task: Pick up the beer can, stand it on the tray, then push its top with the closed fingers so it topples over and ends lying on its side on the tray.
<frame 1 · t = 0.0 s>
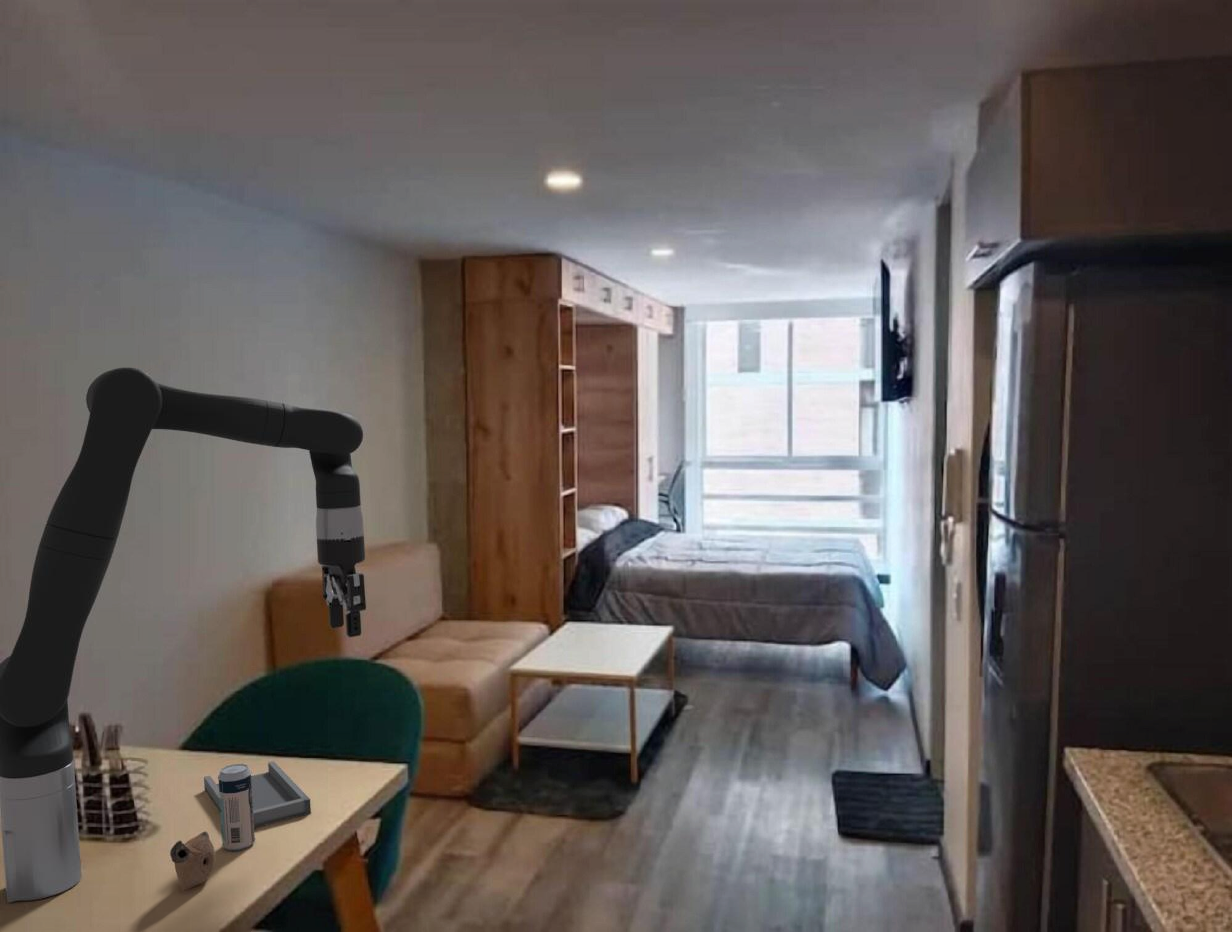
hand: (345, 631, 163), 29 cm above the table, fingers open, 8 cm apart
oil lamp: (193, 889, 137), on the table
tray: (255, 801, 167), on the table
beer can: (239, 846, 150), on the table
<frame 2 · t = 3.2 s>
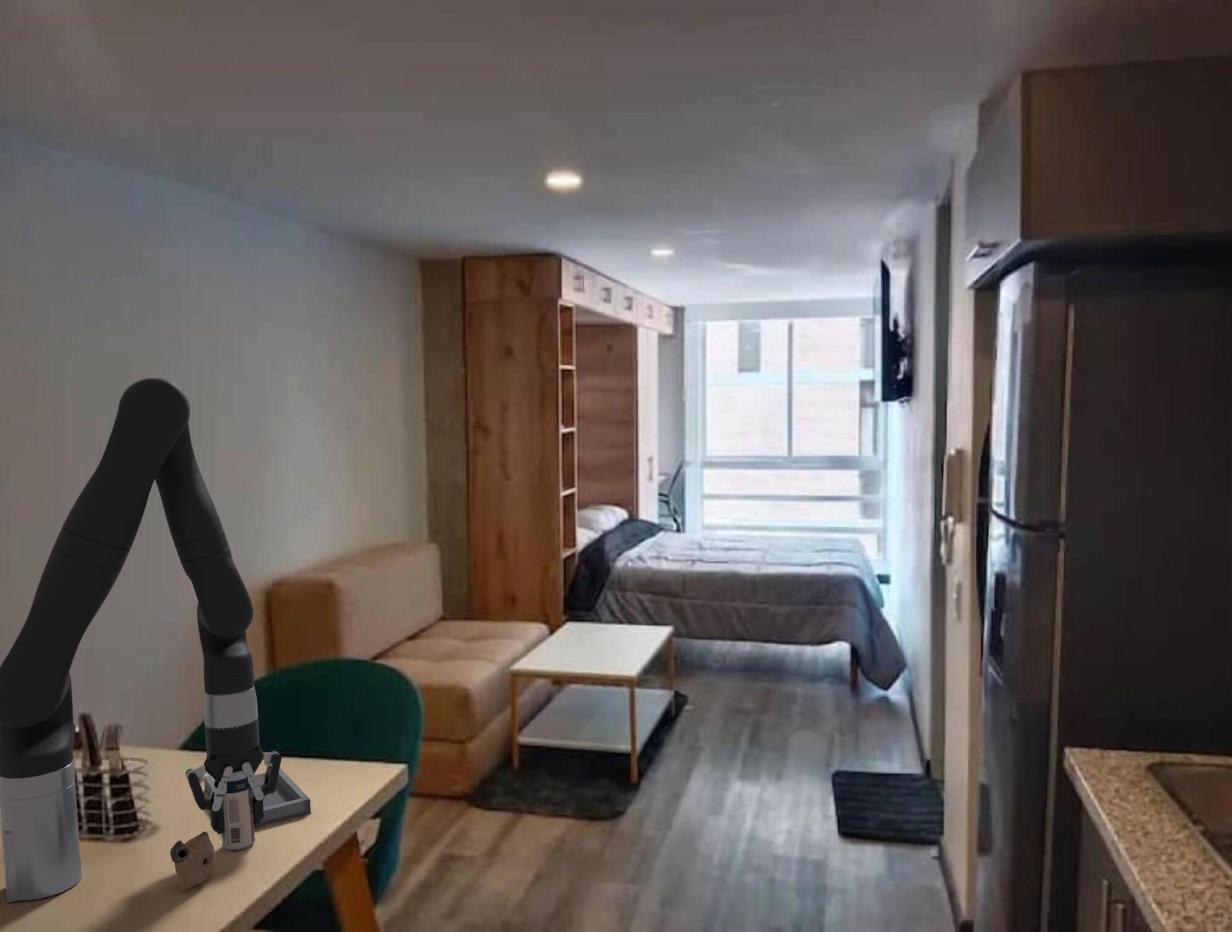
hand: (238, 826, 150), 3 cm above the table, fingers closed on beer can, 4 cm apart
beer can: (239, 846, 150), on the table, touching gripper
everything else where it was.
when the fingers open (5 cm above the table, at t = 8.3 s): beer can drops 1 cm, resting on tray.
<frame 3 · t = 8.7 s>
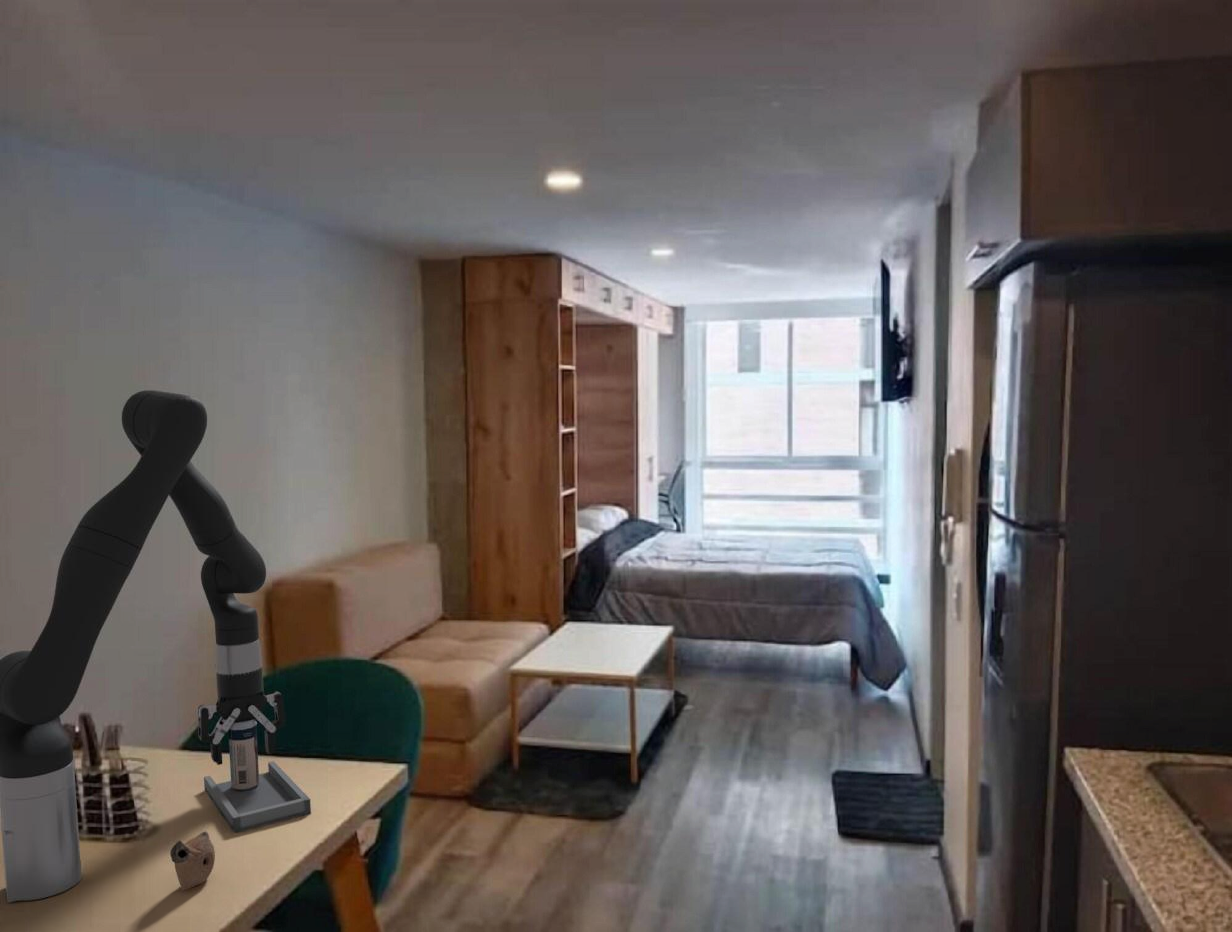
hand: (244, 757, 172), 6 cm above the table, fingers open, 8 cm apart
beer can: (245, 787, 172), resting on tray
everything else where it was.
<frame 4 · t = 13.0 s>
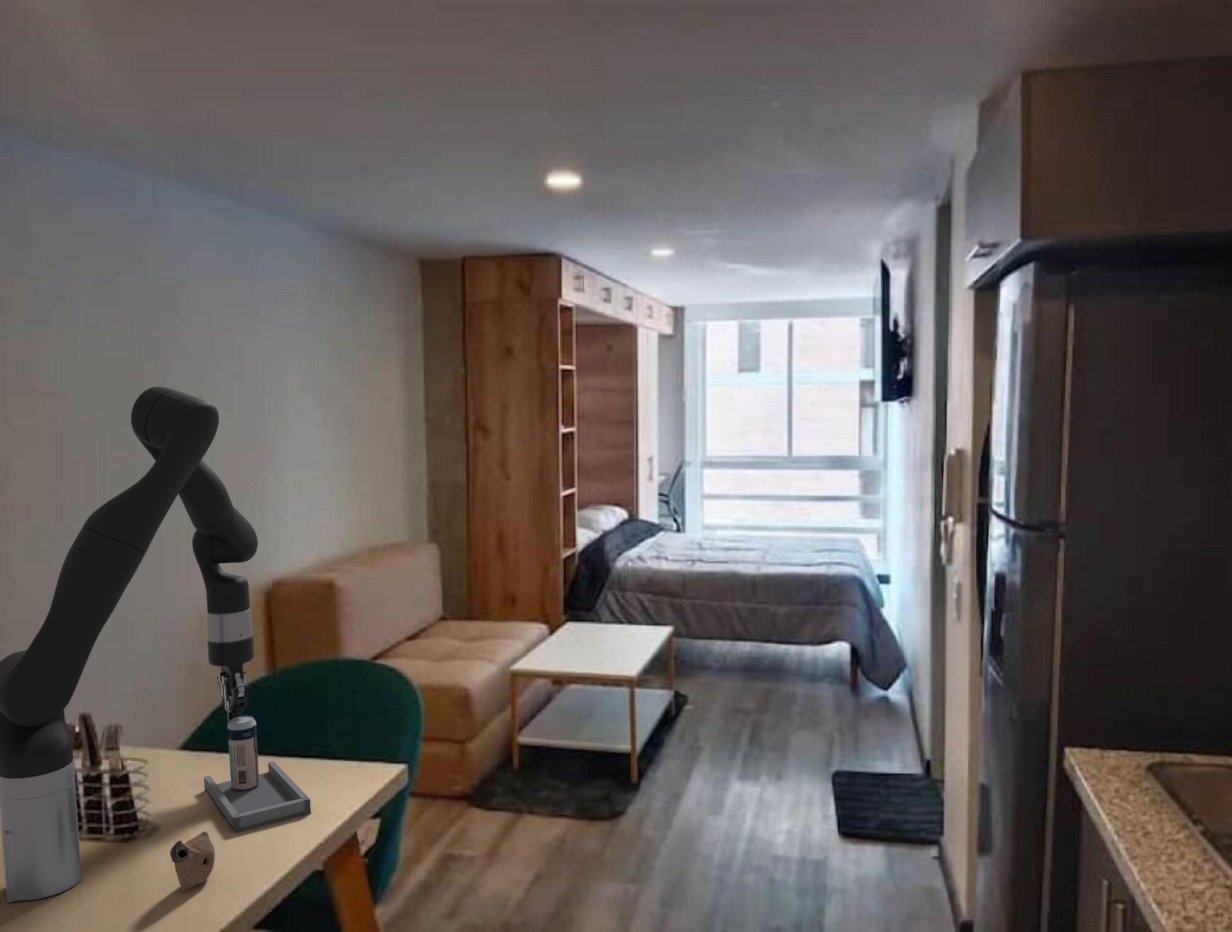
hand: (235, 731, 175), 9 cm above the table, fingers closed
beer can: (245, 787, 172), resting on tray, touching gripper
everything else where it was.
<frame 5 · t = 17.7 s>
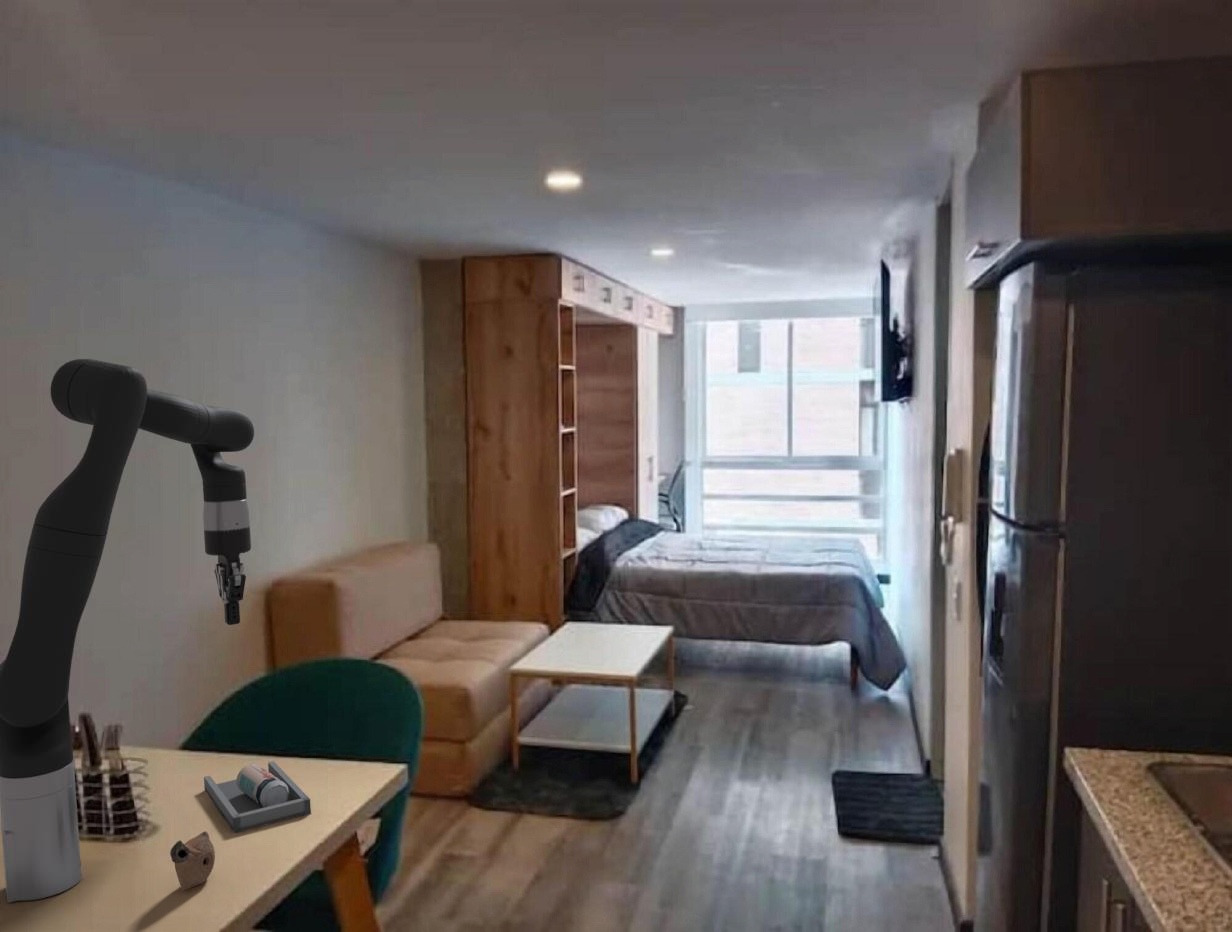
hand: (232, 623, 173), 29 cm above the table, fingers closed
beer can: (248, 777, 170), point 3 cm above the table, touching tray
everything else where it was.
at the end: beer can tilted 90°; beer can inside the target area (4.1 cm from its centre), point 3.0 cm above the table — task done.
